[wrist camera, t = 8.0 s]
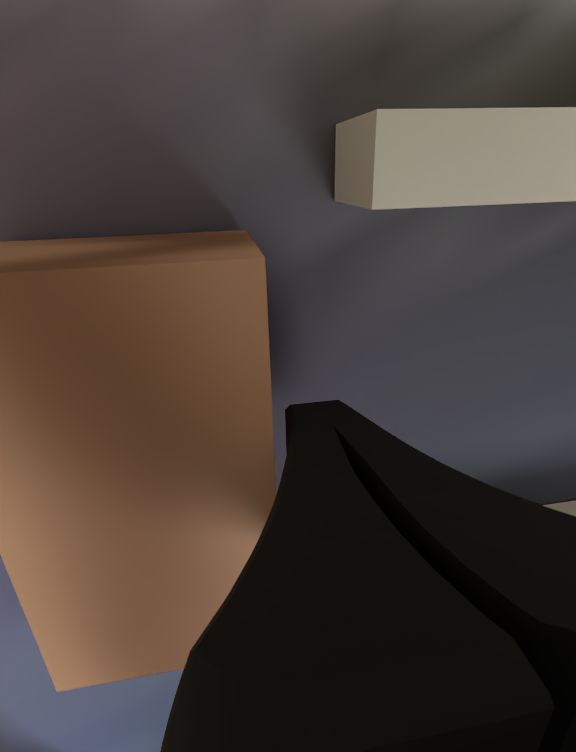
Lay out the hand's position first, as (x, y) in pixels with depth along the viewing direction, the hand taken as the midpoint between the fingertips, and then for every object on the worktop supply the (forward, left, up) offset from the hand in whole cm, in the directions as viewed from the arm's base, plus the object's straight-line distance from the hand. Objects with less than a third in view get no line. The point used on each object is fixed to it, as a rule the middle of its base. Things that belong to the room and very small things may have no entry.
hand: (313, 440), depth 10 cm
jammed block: (0, +4, -2) cm, 4 cm away
